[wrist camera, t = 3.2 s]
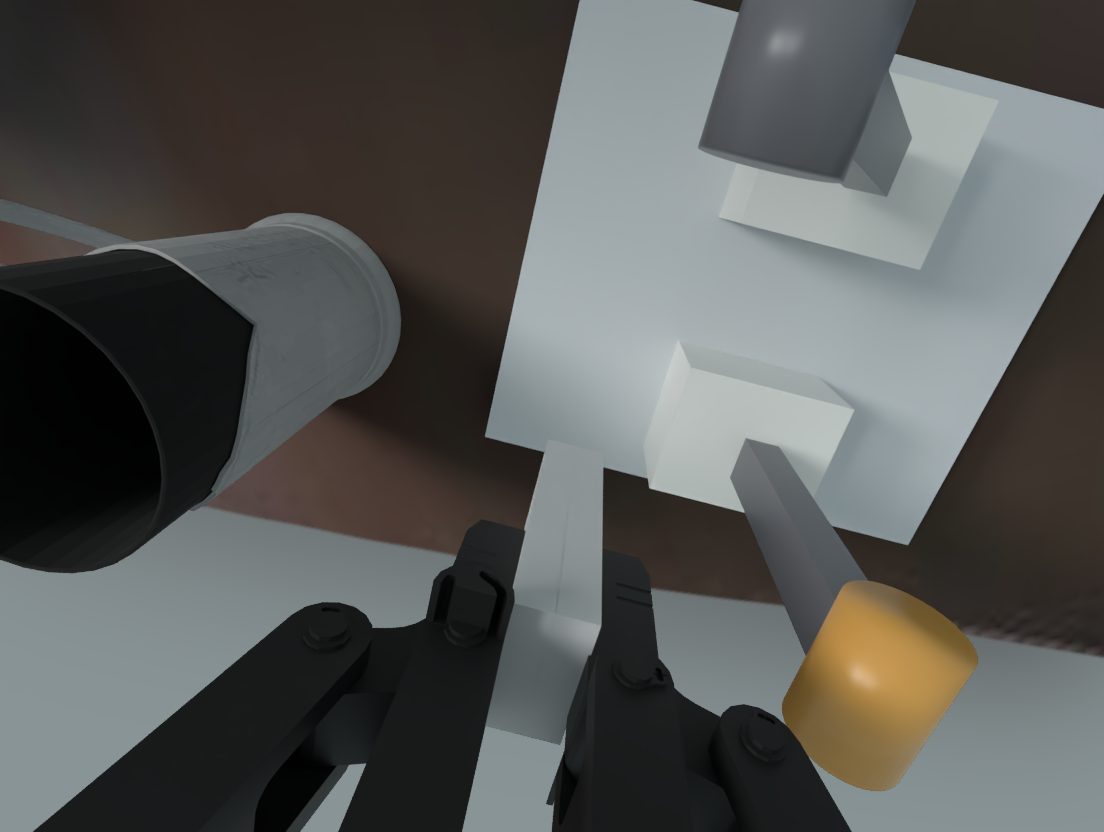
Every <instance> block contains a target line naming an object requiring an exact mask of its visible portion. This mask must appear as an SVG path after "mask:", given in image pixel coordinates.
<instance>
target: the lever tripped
mask: <svg viewBox="0 0 1104 832" xmlns="http://www.w3.org/2000/svg"><path fill="white" fill-rule="evenodd" d="M730 479H731V481H732V484H733V486H734V488H735V491H736V493H737V495H738V498H739V500H740V502H741V505H742V507H743V509H744V512H745V514H746V517H747V519H748V521H749V524H750V526H751V528H752V531H753V533H754V535H755V538H756V540H757V542H758V545H759V547H760V549H761V552H762V554H763V556H764V559H765V561H766V563H767V566H768V568H769V570H770V573H771V575H772V577H773V580H774V582H775V585H776V587H777V589H778V592H779V594H780V596H781V599H782V601H783V603H784V606H785V608H786V610H787V612H788V615H789V617H790V620H791V622H792V624H793V627H794V629H795V631H796V634H797V636H798V638H799V641H800V643H801V645H802V648H803V650H804V652H805V655H806V657H805V659H804V661H803V663H802V665H801V667H800V669H799V671H798V673H797V674H796V677H795V678H794V680H793V682H792V684H791V686H790V688H789V690H788V692H787V694H786V696H785V697H784V700H783V703H782V713H783V717H784V721H785V723H786V726H787V727H788V728H789V729H790V730H791V731H792V733H793V734H794V735H795V736H796V738H797V739H798V740H799V742H800V743H801V745H802V747H803V748H804V750H805V752H806V754H807V755H808V756H809V757H810V758H811V759H812V760H813V761H814V762H815V763H817V764H818V765H819V766H820V767H821V768H823V769H824V770H826V771H827V772H828V773H830V774H832V775H833V776H835V777H837V778H838V779H840V780H842V781H844V782H846V783H848V784H850V785H853V786H855V787H858V788H861V789H865V790H870V791H885V790H889V789H891V788H893V787H895V786H896V785H897V784H898V783H899V781H900V780H901V778H902V777H903V776H904V774H905V773H906V771H907V770H908V768H909V766H910V765H911V764H912V762H913V761H914V759H915V758H916V756H917V754H918V753H919V751H920V750H921V749H922V747H923V746H924V744H925V743H926V741H927V740H928V738H929V737H930V735H931V734H932V732H933V731H934V729H935V727H936V726H937V725H938V723H939V722H940V720H941V719H942V717H943V716H944V714H945V713H946V711H947V710H948V708H949V707H950V705H951V704H952V702H953V701H954V699H955V698H956V696H957V695H958V693H959V692H960V690H961V689H962V687H963V686H964V684H965V683H966V681H967V680H968V678H969V677H970V675H971V674H972V672H973V671H974V670H975V668H976V666H977V664H978V657H977V653H976V651H975V649H974V647H973V645H972V644H971V642H970V641H969V639H968V638H967V637H966V636H965V635H964V633H963V632H962V631H961V630H960V629H959V628H958V627H957V626H956V625H954V624H953V623H952V622H951V621H950V620H949V619H947V618H946V617H945V616H944V615H942V614H941V613H939V612H938V611H937V610H935V609H934V608H932V607H931V606H929V605H928V604H926V603H924V602H922V601H921V600H919V599H917V598H915V597H913V596H911V595H909V594H907V593H905V592H903V591H901V590H898V589H896V588H893V587H890V586H887V585H884V584H881V583H877V582H872V581H868V580H867V578H866V577H865V575H864V574H863V572H862V571H861V569H860V568H859V566H858V565H857V563H856V562H855V560H854V559H853V557H852V556H851V554H850V553H849V551H848V550H847V548H846V547H845V545H844V544H843V542H842V541H841V539H840V538H839V536H838V535H837V533H836V532H835V530H834V529H833V527H832V526H831V524H830V523H829V521H828V520H827V518H826V517H825V515H824V514H823V512H822V511H821V509H820V508H819V506H818V505H817V503H816V502H815V500H814V499H813V497H812V496H811V494H810V493H809V491H808V490H807V488H806V487H805V485H804V484H803V482H802V481H801V479H800V478H799V476H798V475H797V473H796V472H795V470H794V469H793V467H792V465H791V464H790V462H789V461H788V459H787V458H786V456H785V455H784V453H783V452H782V450H781V449H780V447H779V446H775V445H771V444H767V443H763V442H759V441H755V440H751V439H748V438H746V439H745V441H744V444H743V446H742V449H741V451H740V454H739V456H738V459H737V461H736V464H735V466H734V468H733V471H732V473H731V476H730Z"/></svg>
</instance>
